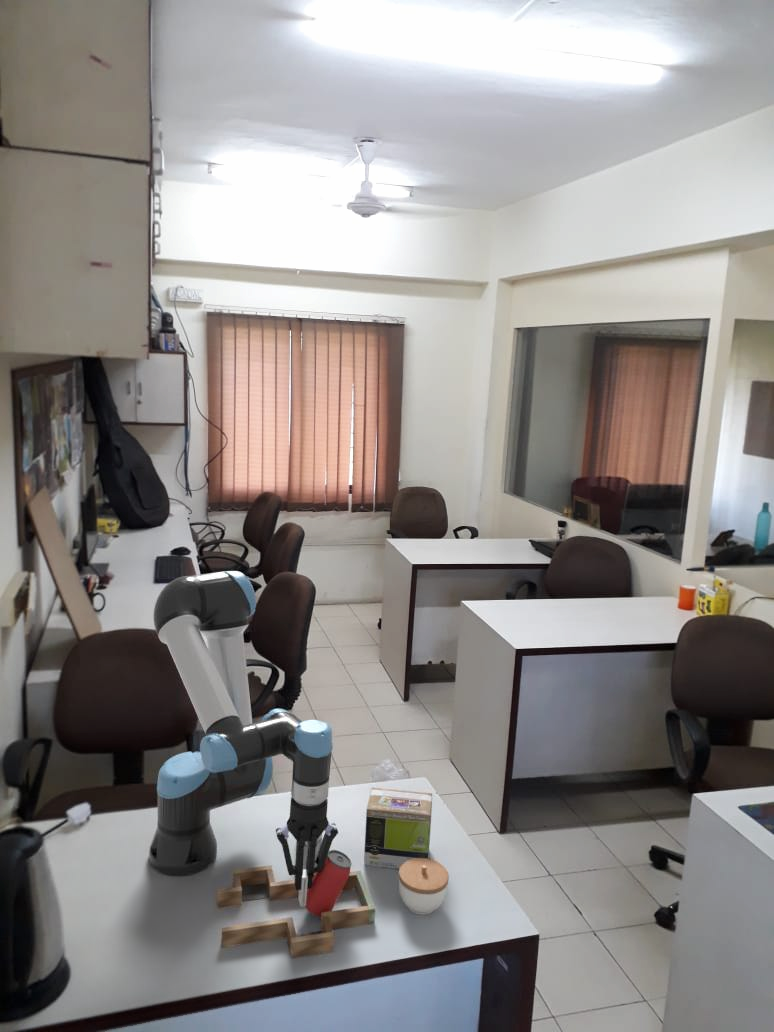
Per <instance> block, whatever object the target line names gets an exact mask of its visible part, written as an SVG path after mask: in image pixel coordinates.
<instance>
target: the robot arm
mask: <svg viewBox="0 0 774 1032" xmlns="http://www.w3.org/2000/svg"><path fill="white" fill-rule="evenodd" d="M256 598H257V597H256V593H255V590H254V587H253V585H252V583H251V581H250V580H249V578H248V577H247V575H245V574H244V573H243V572H241V571H238V570H227V571H225V570H223V571H216V572H210V573H202V574H196V575H185V576H184V575H183V576H180V577H177V578H174V579H173V580H171V581H170V582H169V583H167V584H166V586H164V587H163V589H162V590H161V591H160V593H159V595H158V596H157V599H156V601H155V604H154V609H153V624H154V625H153V626H154V630H155V632H156V634H157V636H158V639H159V641H160V642H161V643H162V644H164V645H167V648H168V650H169V652H170V655H171V657H172V659H173V662H174V664H175V666H176V669H177V671H178V673H179V676H180V678H181V681H182V683H183V686H184V687H185V689H186V692H187V694H188V697H189V698H190V702H191V704H192V705H193V708H194V711H195V713H196V715H197V718H198V720H199V722H200V725H201V726H202V729H203V731H204V733H205V736H204V737H202V739H201V741H200V744H199V751H194V752H192V751H185V752H181V753H178V754H176V755H173V756H172V757H170V758H169V759H167V760H166V761H165V762H164V763H163V764H162V766H161V768H160V769H159V771H158V775H157V777H158V778H157V784H156V792H157V793H156V794H157V824H156V825H157V826H156V830H155V832H154V835H153V837H152V841H151V843H150V846H149V849H148V852H149V853H148V855H149V856H148V860H149V864H150V866H151V867H152V868H153V869H154V870H155V871H157V872H159V873H160V874H164V875H166V876H173V877H174V876H175V877H177V876H178V877H181V876H190V875H193V874H196V873H199V872H201V871H203V870H205V869H206V868H208V867H210V865H212V863H213V862H214V861H215V859H216V857H217V853H218V851H217V850H218V842H217V839H216V836H215V833H214V830H213V827H212V824H211V811H212V810H215V809H218V808H222V807H224V806H228V805H231V804H233V803H237V802H240V801H243V800H245V799H251V798H253V797H255V796H256V795H259V794H261V793H264V792H265V791H266V790H267V789H268V787H269V786H270V785H271V782H272V779H273V775H274V763H273V762H274V761H273V757H275V756H276V757H277V756H278V755H283V756H284V757H285V758H286V759H289V760H290V761H291V762H292V777H291V778H292V779H291V793H290V795H291V798H290V809H289V818H288V819H287V821H286V825H285V826H283V827H282V828H281V827H277V828H276V829H275V834H276V838H277V840H278V841H279V843H280V845H281V847H282V852H283V856H284V860H285V864H286V869H287V873H288V875H289V876H291V877H292V876H294V879H295V888H296V890H299V896H298V897H297V898H298V903H299V906H300V907H305V906H306V897H307V889H311V887H312V880H313V878H314V874H315V873H316V872H318V873H320V872H321V871H322V869H323V867H324V864H325V861H326V858H327V855H328V852H329V851H330V850H331V846H332V843H333V840H334V839H335V838H336V837H337V835H338V834H339V830H338V828H337V825H336V823H334V822H333V823H331V822H330V821H329V820H328V817H327V816H328V815H327V814H328V804H329V802H328V801H329V799H328V797H329V787H330V772H331V762H332V752H333V748H334V747H333V730H332V727H331V726H330V724H328V723H327V722H325V721H321V720H319V719H306V720H303V721H302V720H300V719H299V717H298V716H297V715H295V714H293V713H291V712H289V711H287V710H286V709H283V708H274V709H271V710H270V711H269V712H268V713H266V714H264V716H263V718H262V719H261V721H258V722H254V723H253V717H252V716H253V715H252V705H251V699H250V689H249V688H250V687H249V678H248V677H249V676H248V669H247V660H246V659H247V658H246V649H245V648H246V647H245V638H244V633H245V631H246V630H247V628H248V626H249V624H250V623H249V618H250V617H252V616H253V615H254V614H255V612H256V607H257V599H256ZM203 636H204V637H205V639H206V642H205V640H204V638H203ZM206 643H207V644H206ZM289 833H291V835H292V837H293V838H294V839H295V840H296V842H295V843H296V844H295V847H296V848H295V862H294V864H293V860H292V855H291V852H290V851H291V850H290V847H289V846H290V845H289V842H288V838H289V835H290V834H289ZM323 833H324V834H323ZM321 834H322V835H323V837H322V841H321V843H320V846H319V848H318V852H317V855H316V851H317V844H318V842H317V839H318V838H319V837H320V835H321ZM306 841H308V845H307V851H306V863H305V869H304V858H305V856H304V855H305V848H306V845H305V842H306Z"/></svg>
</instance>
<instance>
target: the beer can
mask: <svg viewBox="0 0 774 1032" xmlns="http://www.w3.org/2000/svg"><path fill="white" fill-rule="evenodd" d="M351 867H352V861H351V858H350V857H349V856H348V855H347V854H345V853H344V852H342V851H341V850H338V849H329V852H328V855H327V858H326V861H325V864H324V867H323V869H322V871H321V872H320V873H318V872H316V873H314V878H313V880H312V887H311V889H307V897H306V906H304V908H305V909H306V910H307V912H308V913H310V914H311V915H313V916H316V917H318V918H321V913H322V912H329V911H333V909H334V907H335V906H336V903H337V902H338V899H339V897H340V896H341V893H342V889H343V887H344V885H345V883H346V881H347V879H348V877H349V874H350V872H351Z"/></svg>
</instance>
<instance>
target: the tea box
mask: <svg viewBox="0 0 774 1032" xmlns="http://www.w3.org/2000/svg"><path fill="white" fill-rule="evenodd" d="M432 805H433V793H430V792H422V791H413V790H411V791H410V790H409V791H408V790H402V789H393V788H392V789H391V788H382V787H381V788H379V787H371V789H370V795H369V798H368V803H367V807H366V811H365V812H366V815H365V833H364V834H365V835H364V855H363V856H364V857H363V863H364V864H363V865H364V866H373V867H382V868H388V869H389V868H391V869H400V867H401V866H402V864H403V863H405V862H406V861H408V860H411V859H414V858H427V859H429V855H430V854H429V853H430V843H431V827H432V811H433V809H432V808H433V806H432Z"/></svg>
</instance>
